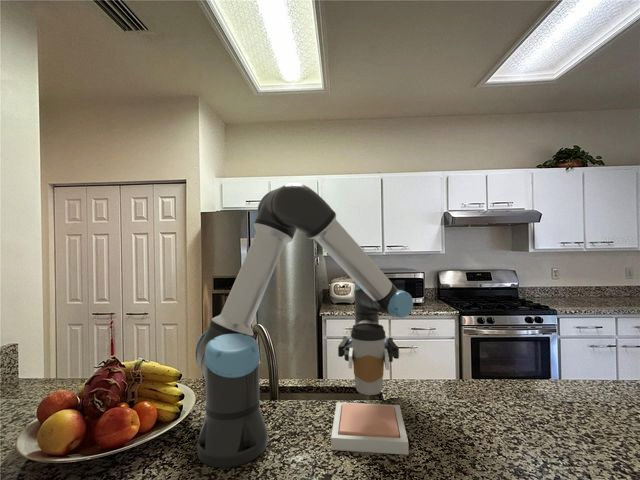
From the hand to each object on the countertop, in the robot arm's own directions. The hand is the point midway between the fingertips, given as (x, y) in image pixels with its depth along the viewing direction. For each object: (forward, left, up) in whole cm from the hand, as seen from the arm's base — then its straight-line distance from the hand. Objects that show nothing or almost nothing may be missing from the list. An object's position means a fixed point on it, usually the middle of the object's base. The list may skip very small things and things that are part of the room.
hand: (368, 363), depth 75 cm
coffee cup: (0, +5, -8) cm, 10 cm away
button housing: (0, +5, -18) cm, 18 cm away
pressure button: (0, +5, -16) cm, 16 cm away
